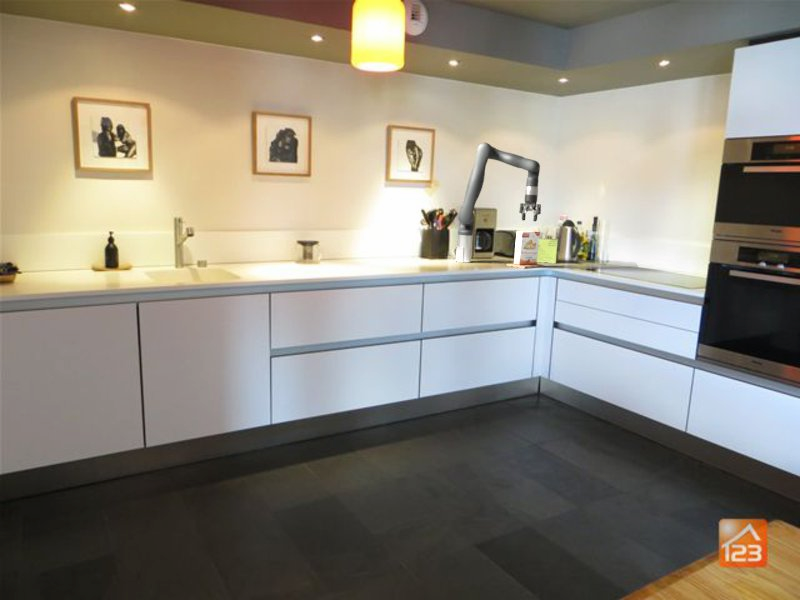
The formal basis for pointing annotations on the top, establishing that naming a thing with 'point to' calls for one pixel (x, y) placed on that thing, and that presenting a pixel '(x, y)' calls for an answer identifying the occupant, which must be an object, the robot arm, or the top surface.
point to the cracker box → (526, 247)
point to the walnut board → (525, 266)
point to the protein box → (547, 250)
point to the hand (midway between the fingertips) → (529, 220)
